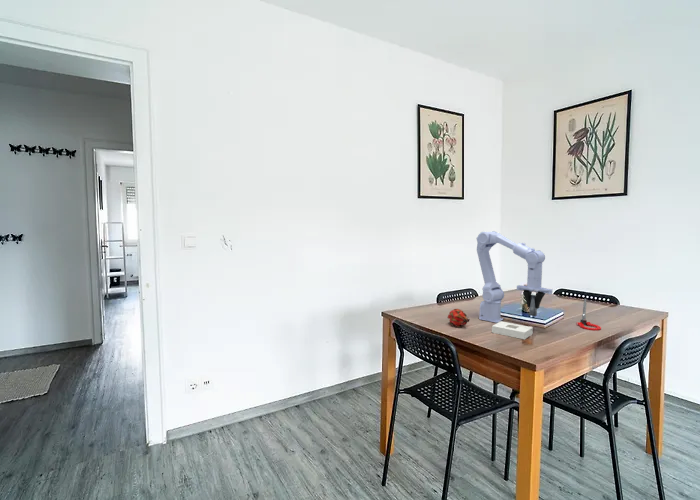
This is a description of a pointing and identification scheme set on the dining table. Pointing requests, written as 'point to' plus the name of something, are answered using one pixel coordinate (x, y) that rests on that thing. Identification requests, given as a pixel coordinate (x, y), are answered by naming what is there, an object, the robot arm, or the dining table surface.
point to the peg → (533, 306)
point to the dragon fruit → (458, 317)
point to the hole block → (512, 330)
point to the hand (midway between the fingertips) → (533, 307)
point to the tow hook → (584, 321)
